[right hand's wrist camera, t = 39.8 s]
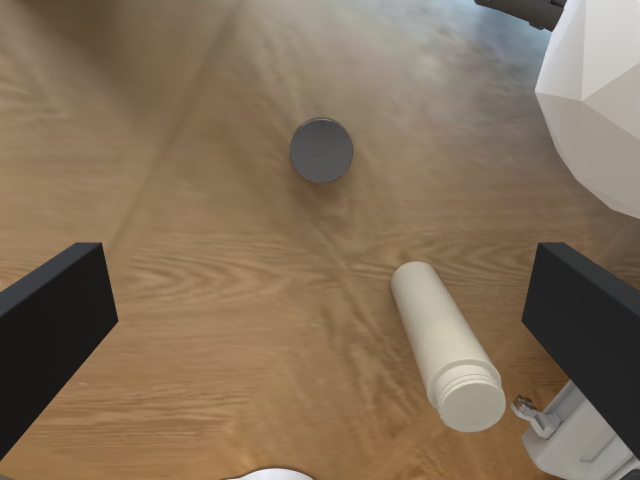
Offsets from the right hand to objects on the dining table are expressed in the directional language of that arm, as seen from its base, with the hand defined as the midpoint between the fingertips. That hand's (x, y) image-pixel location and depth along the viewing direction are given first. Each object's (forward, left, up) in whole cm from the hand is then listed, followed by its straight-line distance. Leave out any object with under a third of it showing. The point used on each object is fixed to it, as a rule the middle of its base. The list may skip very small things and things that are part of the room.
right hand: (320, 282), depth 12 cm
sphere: (-18, +20, -29) cm, 40 cm away
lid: (0, 0, -28) cm, 28 cm away
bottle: (+9, +16, -29) cm, 35 cm away
